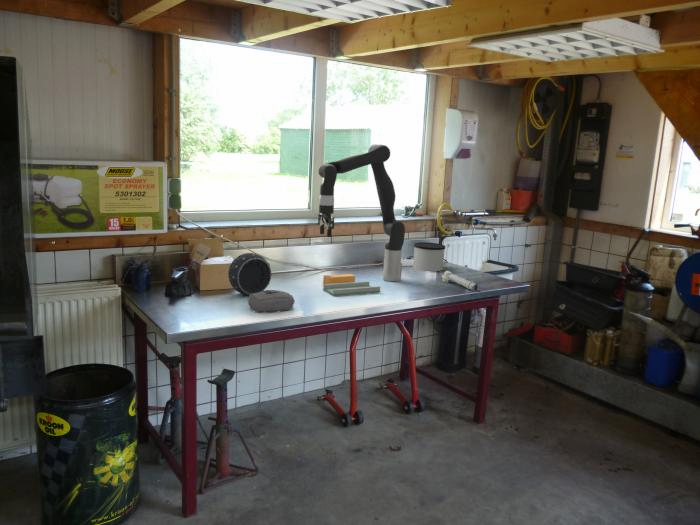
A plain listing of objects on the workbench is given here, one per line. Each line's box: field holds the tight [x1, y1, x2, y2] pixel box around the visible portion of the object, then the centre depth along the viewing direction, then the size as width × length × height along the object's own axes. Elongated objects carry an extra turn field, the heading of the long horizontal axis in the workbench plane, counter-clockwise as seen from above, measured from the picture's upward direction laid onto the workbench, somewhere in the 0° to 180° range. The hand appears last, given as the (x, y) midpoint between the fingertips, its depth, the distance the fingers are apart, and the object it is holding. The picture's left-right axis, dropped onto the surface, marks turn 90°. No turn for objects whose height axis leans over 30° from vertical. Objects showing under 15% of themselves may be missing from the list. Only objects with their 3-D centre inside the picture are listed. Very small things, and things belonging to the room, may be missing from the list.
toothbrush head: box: [441, 270, 479, 291], centre depth 326 cm, size 5×7×25 cm
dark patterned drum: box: [227, 252, 273, 296], centre depth 282 cm, size 11×20×20 cm, turn 126°
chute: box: [322, 273, 356, 286], centre depth 312 cm, size 16×6×5 cm, turn 118°
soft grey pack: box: [248, 289, 295, 313], centre depth 262 cm, size 15×8×20 cm
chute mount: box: [322, 281, 381, 297], centre depth 300 cm, size 26×13×3 cm, turn 118°
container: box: [412, 241, 446, 272], centre depth 365 cm, size 19×19×15 cm
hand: (325, 235), depth 306 cm, fingers open, 8 cm apart
